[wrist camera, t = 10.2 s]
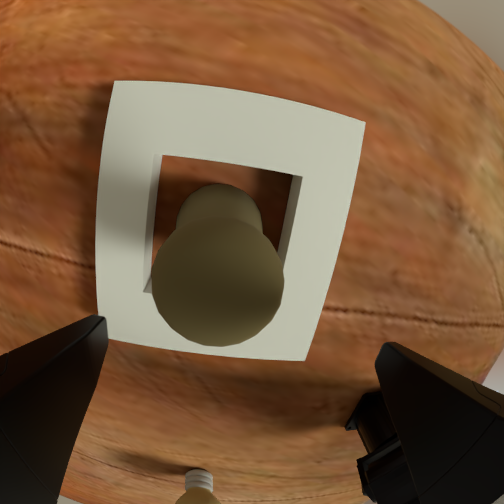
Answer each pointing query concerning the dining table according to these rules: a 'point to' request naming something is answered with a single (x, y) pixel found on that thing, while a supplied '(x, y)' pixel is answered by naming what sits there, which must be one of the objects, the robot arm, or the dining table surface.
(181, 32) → the dining table surface
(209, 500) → the light bulb
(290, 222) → the socket board
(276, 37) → the dining table surface
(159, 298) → the olive green peg
